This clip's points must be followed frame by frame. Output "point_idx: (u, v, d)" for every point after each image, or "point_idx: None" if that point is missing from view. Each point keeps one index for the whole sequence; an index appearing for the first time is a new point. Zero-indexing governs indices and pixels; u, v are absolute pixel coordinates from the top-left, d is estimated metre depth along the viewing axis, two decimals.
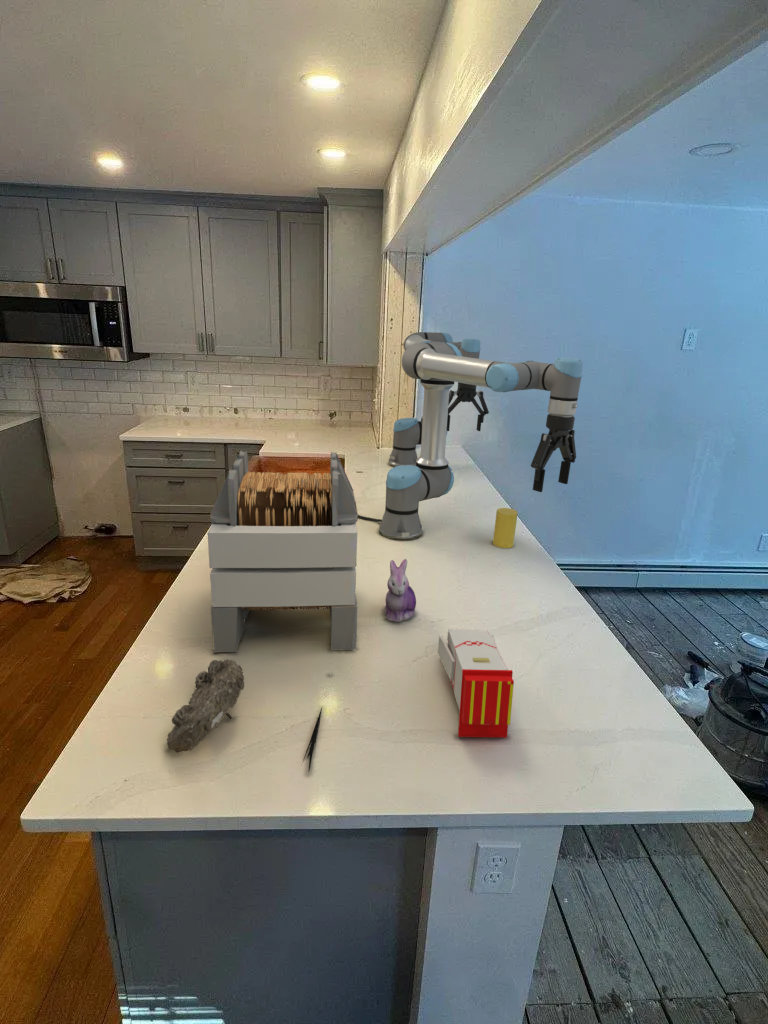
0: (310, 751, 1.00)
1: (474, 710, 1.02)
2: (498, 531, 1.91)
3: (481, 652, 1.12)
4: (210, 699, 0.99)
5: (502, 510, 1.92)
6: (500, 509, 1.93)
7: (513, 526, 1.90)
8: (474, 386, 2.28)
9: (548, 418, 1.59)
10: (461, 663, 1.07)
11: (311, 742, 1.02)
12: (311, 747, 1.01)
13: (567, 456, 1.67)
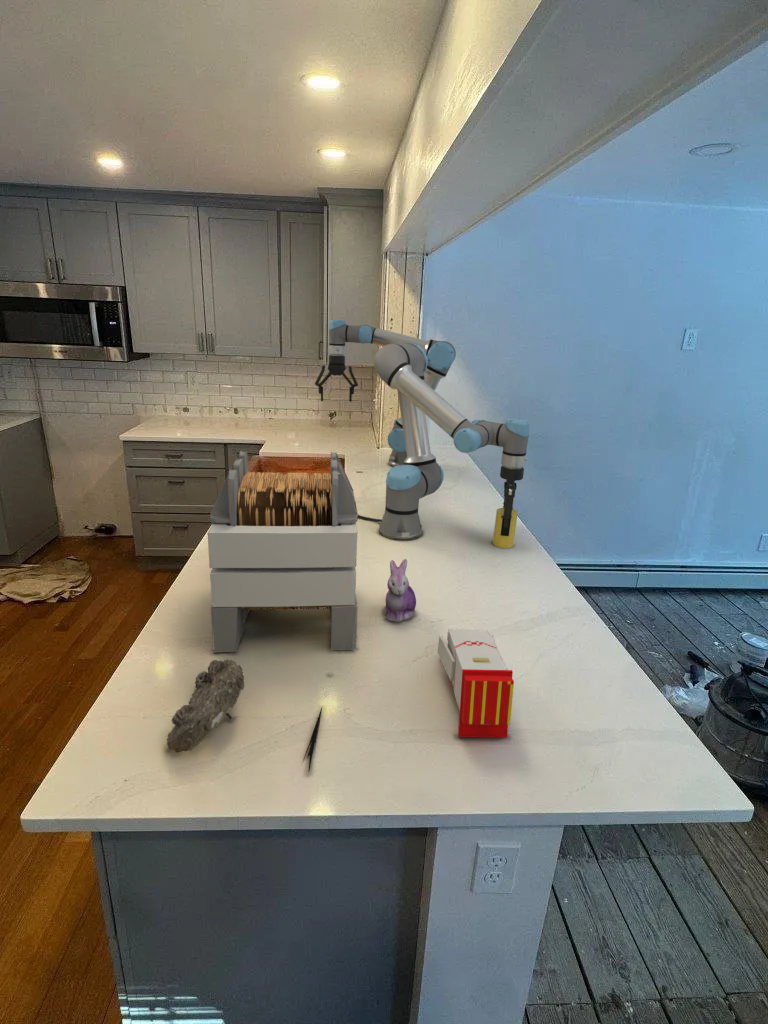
0: (310, 751, 1.00)
1: (474, 710, 1.02)
2: (498, 531, 1.91)
3: (481, 652, 1.12)
4: (210, 699, 0.99)
5: (502, 510, 1.92)
6: (500, 509, 1.93)
7: (513, 526, 1.90)
8: (342, 361, 2.62)
9: (506, 471, 1.84)
10: (461, 663, 1.07)
11: (311, 742, 1.02)
12: (311, 747, 1.01)
13: None
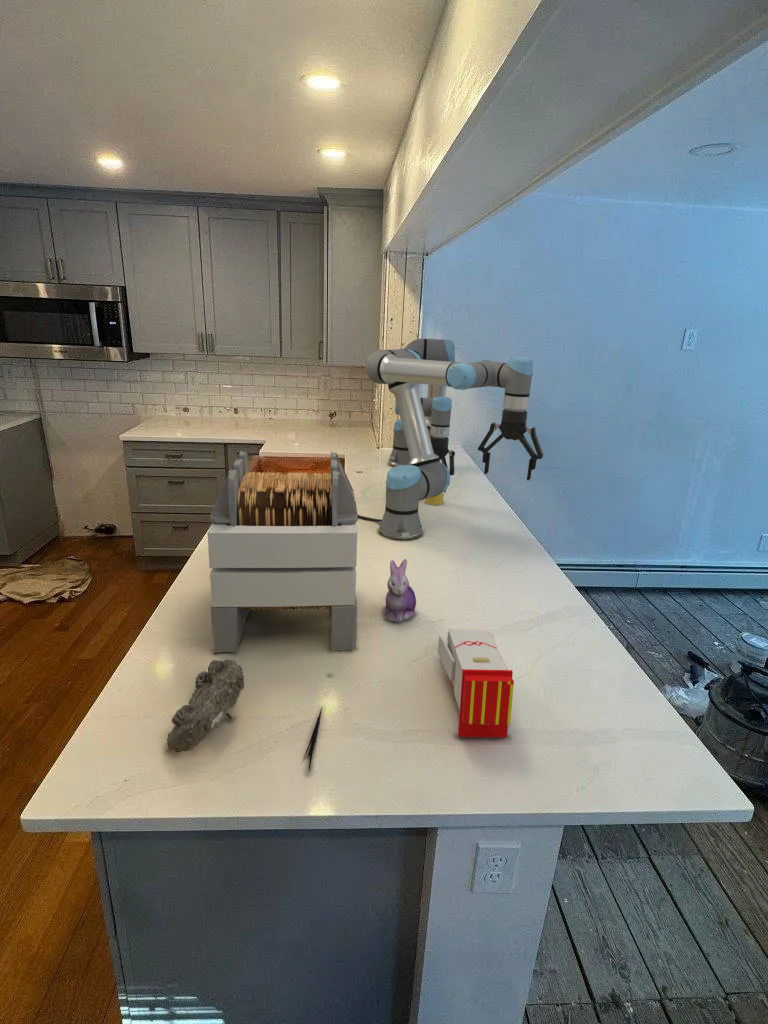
0: (310, 751, 1.00)
1: (474, 710, 1.02)
2: None
3: (481, 652, 1.12)
4: (210, 699, 0.99)
5: None
6: None
7: None
8: (446, 444, 2.23)
9: (524, 415, 1.71)
10: (461, 663, 1.07)
11: (311, 742, 1.02)
12: (311, 747, 1.01)
13: None
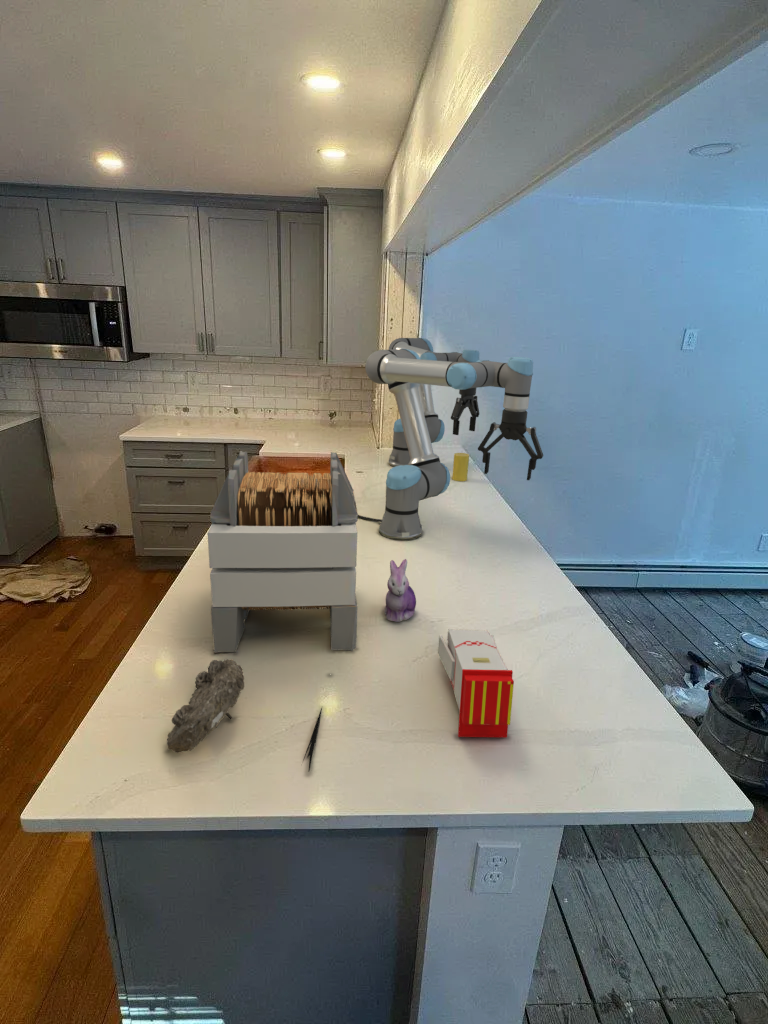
0: (310, 751, 1.00)
1: (474, 710, 1.02)
2: (467, 469, 2.65)
3: (481, 652, 1.12)
4: (210, 699, 0.99)
5: (461, 455, 2.63)
6: (461, 455, 2.62)
7: None
8: (475, 392, 2.54)
9: (524, 415, 1.71)
10: (461, 663, 1.07)
11: (311, 742, 1.02)
12: (311, 747, 1.01)
13: None
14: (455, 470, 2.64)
